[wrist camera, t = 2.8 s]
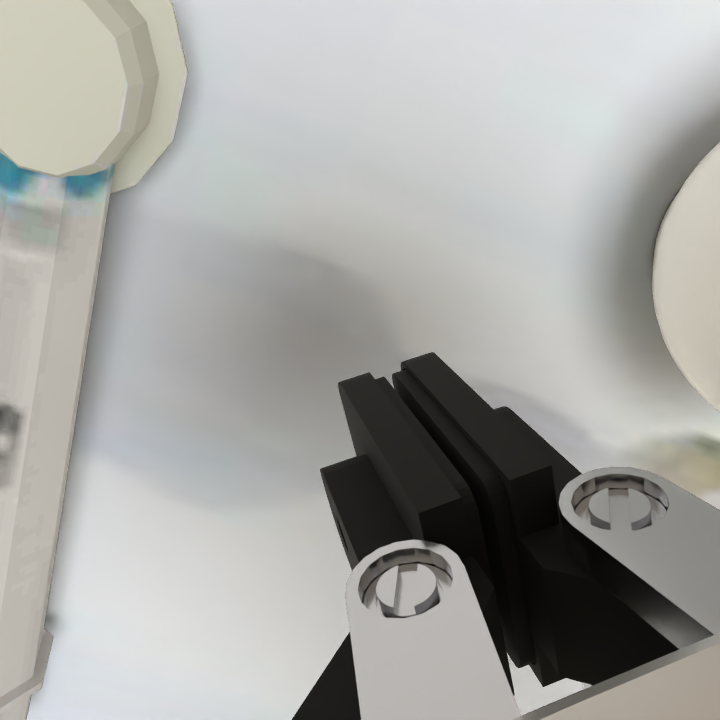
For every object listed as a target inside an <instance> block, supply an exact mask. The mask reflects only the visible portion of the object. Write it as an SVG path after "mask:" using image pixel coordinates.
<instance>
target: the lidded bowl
mask: <svg viewBox="0 0 720 720" xmlns="http://www.w3.org/2000/svg"><path fill="white" fill-rule="evenodd" d="M652 292H653V299H654V307H655V313H656V316H657V320H658V323H659V326H660V330H661V333H662V336H663V340H664V342H665V344H666V346H667V348H668V350H669V352H670V354H671V356H672V358H673V359H674V361H675V362H676V364H677V366H678V367H679V369H680V370H681V372H682V373H683V375H684V376H685V377H686V378H687V380H688V381H689V382H690V383H691V385H692V386H693V387H694V388H695V389H696V390H697V391H698V392H699V393H700V394H701V395H702V396H703V397H704V398H705V399H706V400H707V401H708V402H709V403H710V404H711V405H712V406H713V407H714V408H715V409H717V410H718V411H719V412H720V142H719V143H718V144H717V145H716V146H715V147H714V148H713V149H712V150H711V151H710V152H709V153H708V154H707V155H706V156H705V157H704V158H703V159H702V160H701V161H700V163H699V164H698V165H697V166H696V168H695V169H694V170H693V172H692V173H691V174H690V176H689V177H688V178H687V179H686V181H685V182H684V184H683V186H682V187H681V189H680V191H679V192H678V193H677V195H676V196H675V197H674V199H673V201H672V202H671V204H670V206H669V207H668V209H667V211H666V213H665V215H664V218H663V220H662V222H661V225H660V228H659V231H658V235H657V238H656V242H655V249H654V255H653V286H652Z"/></svg>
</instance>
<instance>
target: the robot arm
mask: <svg viewBox="0 0 720 720" xmlns="http://www.w3.org/2000/svg"><path fill="white" fill-rule="evenodd" d="M392 379H393V385H394V388H393V387H392V386H391V385H390V383H389V382H388V381H387V379H386V378H385V377H381V378H378V379H374V377H373V376H372V375H371V374H370V373H366V374H363V375H360V376H357V377H354V378H351V379H347V380H344V381H341V382H339V383H338V387H339V392H340V396H341V400H342V404H343V407H344V411H345V415H346V418H347V422H348V426H349V430H350V433H351V437H352V441H353V445H354V448H355V452H356V457H353V458H351V459H348V460H345V461H342V462H339V463H336V464H333V465H330V466H327V467H324V468H321V469H320V472H321V476H322V480H323V483H324V487H325V490H326V494H327V497H328V500H329V504H330V507H331V510H332V514H333V517H334V520H335V523H336V526H337V529H338V532H339V535H340V538H341V541H342V544H343V547H344V550H345V553H346V555H347V558H348V561H349V563H350V566H351V568H352V573H351V575H350V577H349V579H348V581H347V584H346V596H345V597H346V604H347V612H348V620H349V628H350V632H349V634H348V635H347V637H346V638H345V640H344V641H343V643H342V645H341V646H340V648H339V649H338V651H337V652H336V654H335V655H334V657H333V658H332V660H331V661H330V663H329V664H328V666H327V667H326V669H325V670H324V672H323V673H322V675H321V676H320V678H319V679H318V681H317V682H316V684H315V685H314V687H313V688H312V690H311V691H310V693H309V694H308V696H307V698H306V699H305V701H304V702H303V704H302V705H301V707H300V708H299V710H298V711H297V713H296V714H295V716H294V717H293V719H292V720H720V510H719V509H717V508H715V507H714V506H712V505H710V504H709V503H707V502H705V501H703V500H702V499H700V498H698V497H696V496H695V495H693V494H691V493H689V492H688V491H686V490H684V489H682V488H681V487H679V486H677V485H675V484H674V483H672V482H670V481H669V480H667V479H665V478H663V477H661V476H658V475H656V474H654V473H651V472H649V471H645V470H640V469H636V468H631V467H609V468H602V469H595V470H592V471H589V472H587V473H584V474H582V473H580V472H579V471H578V470H577V469H576V468H575V467H574V466H573V465H572V464H570V463H569V462H568V461H567V460H566V459H565V458H564V457H563V456H562V455H561V454H559V453H558V452H557V451H556V450H555V449H554V448H553V447H552V446H551V445H550V444H548V443H547V442H546V441H545V440H544V439H543V438H542V437H541V436H540V435H538V434H537V433H536V432H535V431H534V430H533V429H532V428H531V427H530V426H529V425H527V424H526V423H525V422H524V421H523V420H522V419H521V418H520V417H519V416H518V415H516V414H515V413H514V412H513V411H512V410H511V409H509V408H508V407H500V408H497V409H494V410H493V409H492V408H491V407H490V406H489V405H488V404H487V403H486V402H485V401H484V400H483V399H482V398H481V397H480V396H479V395H478V394H477V393H476V392H475V391H474V390H473V389H472V388H470V387H469V386H468V385H467V384H466V383H465V382H464V381H463V380H462V379H461V378H460V377H459V376H458V375H457V374H456V373H455V372H454V371H453V370H452V369H451V368H450V367H448V366H447V365H446V364H445V363H444V362H443V361H442V360H441V359H440V358H439V357H438V356H437V355H436V354H435V353H433V352H431V353H428V354H425V355H422V356H419V357H416V358H413V359H409V360H406V361H403V362H401V371H400V372H397V373H394V374H393V375H392ZM394 389H395V390H394ZM506 651H507V652H506ZM507 653H508V655H509V656H510V658H511V659H512V661H513V662H514V664H515V665H516V666H517V667H518V668H521V667H524V666H526V665H530V667H531V669H532V670H533V672H534V673H535V675H536V676H537V678H538V680H539V681H540V683H541V684H542V686H543V687H545V686H547V685H549V684H552V683H554V682H557V681H559V680H562V679H564V678H569V679H572V680H576V681H579V682H582V686H583V689H584V690H581V691H579V692H577V693H574V694H572V695H569V696H567V697H565V698H562V699H560V700H558V701H555V702H553V703H551V704H548V705H546V706H543V707H541V708H539V709H536V710H534V711H532V712H529V713H527V714H525V715H522V716H521V715H520V712H519V709H518V707H517V704H516V702H515V699H514V689H513V684H512V678H511V673H510V668H509V662H508V657H507Z"/></svg>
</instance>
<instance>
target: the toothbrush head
mask: <svg viewBox="0 0 720 720" xmlns="http://www.w3.org/2000/svg"><path fill="white" fill-rule="evenodd" d="M187 74H188V70H187V66H186V61H185V57H184V52H183V48H182V43H181V39H180V34H179V30H178V25H177V21H176V16H175V12H174V7H173V3H172V2H171V0H0V720H26V718H27V714H28V710H29V705H30V700H31V695H32V694H34V693H35V692H37V691H38V690H40V689H41V688H42V684H43V680H44V675H45V671H46V667H47V663H48V658H49V654H50V650H51V646H52V641H53V636H52V635H51V634H50V633H49V632H48V631H47V630H46V629H45V628H44V625H45V618H46V612H47V605H48V598H49V592H50V585H51V579H52V572H53V566H54V559H55V553H56V546H57V539H58V533H59V526H60V520H61V513H62V507H63V500H64V494H65V487H66V480H67V474H68V467H69V461H70V454H71V448H72V441H73V435H74V428H75V421H76V415H77V408H78V402H79V395H80V389H81V382H82V376H83V369H84V362H85V356H86V349H87V343H88V336H89V330H90V323H91V317H92V310H93V303H94V297H95V290H96V284H97V277H98V271H99V264H100V258H101V251H102V244H103V238H104V231H105V225H106V218H107V212H108V205H109V199H110V194H112V193H115V192H118V191H121V190H124V189H127V188H130V187H133V186H136V184H137V183H138V182H139V181H140V180H141V178H142V177H143V176H144V175H145V173H146V172H147V171H148V170H149V169H150V167H151V166H152V165H153V164H154V163H155V161H156V160H157V159H158V158H159V157H160V155H161V154H162V153H163V152H164V150H165V149H166V148H167V147H168V146H169V144H170V143H171V142H172V141H173V139H174V135H175V130H176V125H177V121H178V116H179V111H180V106H181V102H182V97H183V92H184V88H185V83H186V78H187Z"/></svg>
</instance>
